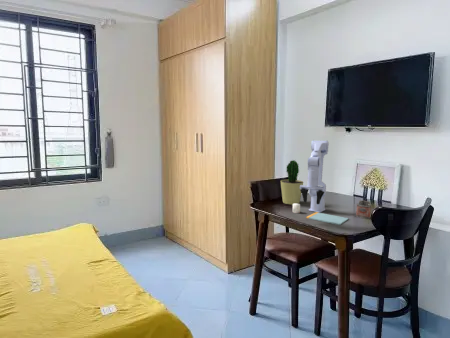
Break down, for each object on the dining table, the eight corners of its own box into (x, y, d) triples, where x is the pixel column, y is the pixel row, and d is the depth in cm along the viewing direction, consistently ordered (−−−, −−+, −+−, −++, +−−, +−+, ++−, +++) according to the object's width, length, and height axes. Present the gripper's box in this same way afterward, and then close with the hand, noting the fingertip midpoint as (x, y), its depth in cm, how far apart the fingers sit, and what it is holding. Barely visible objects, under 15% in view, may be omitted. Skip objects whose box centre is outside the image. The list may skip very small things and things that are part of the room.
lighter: (354, 216, 193) (356, 200, 191) (357, 215, 195) (358, 199, 194) (369, 219, 187) (370, 202, 186) (371, 218, 190) (372, 201, 188)
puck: (294, 210, 204) (294, 203, 203) (301, 212, 201) (301, 204, 201) (291, 212, 201) (291, 204, 200) (297, 213, 198) (298, 205, 197)
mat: (316, 213, 199) (316, 212, 199) (348, 219, 187) (348, 218, 187) (306, 218, 188) (306, 217, 188) (339, 225, 176) (339, 223, 176)
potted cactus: (287, 198, 236) (288, 157, 231) (306, 202, 226) (308, 159, 221) (275, 202, 224) (276, 159, 220) (295, 206, 214) (297, 161, 210)
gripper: (297, 177, 181) (296, 201, 182) (322, 179, 171) (320, 205, 172) (303, 177, 186) (302, 200, 187) (328, 179, 177) (326, 204, 177)
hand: (311, 203), depth 180 cm, fingers open, 7 cm apart
